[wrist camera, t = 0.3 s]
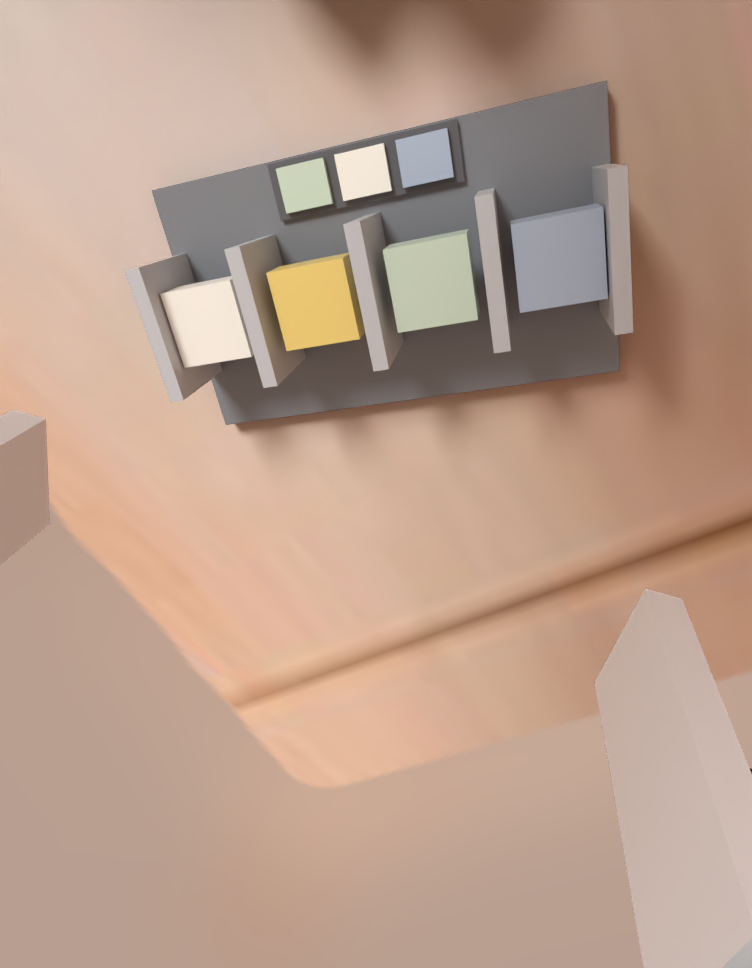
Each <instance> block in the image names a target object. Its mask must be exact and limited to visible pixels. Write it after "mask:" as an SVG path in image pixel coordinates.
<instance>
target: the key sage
mask: <svg viewBox="0 0 752 968" xmlns="http://www.w3.org/2000/svg"><path fill="white" fill-rule="evenodd" d="M383 255H384V261H385V266H386V271H387V277H388V282H389V287H390V293H391V298H392V303H393V309H394V314H395V319H396V325H397V330H398V333H401V332H407V331H413V330H419V329H425V328H431V327H437V326H443V325H450V324H456V323H462V322H468V321H474V320H478V317H479V311H480V310H479V302H478V295H477V287H476V280H475V272H474V265H473V257H472V249H471V242H470V234H469V229H465V230H460V231H455V232H450V233H445V234H440V235H435V236H430V237H425V238H420V239H415V240H410V241H405V242H400V243H395V244H390V245H388V246H387V247H386V248H385V249H383Z"/></svg>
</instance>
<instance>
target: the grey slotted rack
mask: <svg viewBox="0 0 752 968" xmlns="http://www.w3.org/2000/svg"><path fill="white" fill-rule="evenodd" d="M152 193H153V197H154V200H155V203H156V206H157V209H158V212H159V216H160V219H161V222H162V225H163V228H164V231H165V234H166V238H167V241H168V244H169V247H170V250H171V253H172V256H171V257H168V258H165V259H161V260H158V261H155V262H151V263H148V264H145V265H141V266H138V267H135V268H131V269H128V270H125V273H126V276H127V279H128V282H129V285H130V287H131V290H132V293H133V296H134V299H135V302H136V305H137V307H138V310H139V313H140V316H141V319H142V322H143V325H144V327H145V330H146V333H147V336H148V339H149V342H150V345H151V347H152V350H153V353H154V356H155V359H156V362H157V365H158V367H159V370H160V373H161V376H162V379H163V382H164V385H165V387H166V390H167V393H168V396H169V399H170V402H174V401H181V400H184V399H186V398H187V397H188V396H190V395H191V394H192V393H194V392H195V391H196V390H198V389H199V388H200V387H202V386H203V385H204V384H205V383H207V382H208V381H209V380H211V379H212V383H213V386H214V389H215V392H216V395H217V398H218V401H219V405H220V408H221V411H222V414H223V417H224V420H225V424H226V425H229V424H236V423H243V422H251V421H258V420H265V419H272V418H280V417H287V416H294V415H302V414H309V413H316V412H324V411H331V410H338V409H345V408H353V407H360V406H367V405H375V404H382V403H389V402H396V401H404V400H411V399H418V398H426V397H433V396H440V395H448V394H455V393H462V392H469V391H477V390H484V389H491V388H499V387H506V386H513V385H520V384H528V383H535V382H542V381H550V380H557V379H564V378H572V377H579V376H586V375H593V374H601V373H608V372H615V371H620V363H619V340H618V335H621V334H627V333H633V307H632V277H631V248H630V218H629V189H628V165H624V164H611V157H610V134H609V111H608V89H607V81H603V82H599V83H594V84H590V85H586V86H582V87H578V88H574V89H570V90H566V91H561V92H557V93H553V94H549V95H545V96H541V97H537V98H532V99H528V100H524V101H520V102H516V103H512V104H508V105H504V106H499V107H495V108H491V109H487V110H483V111H479V112H475V113H471V114H466V115H462V116H458V117H454V118H450V119H446V120H442V121H437V122H433V123H429V124H425V125H421V126H417V127H413V128H409V129H404V130H400V131H396V132H392V133H388V134H384V135H380V136H375V137H371V138H367V139H363V140H359V141H355V142H351V143H347V144H342V145H338V146H334V147H330V148H326V149H322V150H318V151H313V152H309V153H305V154H301V155H297V156H293V157H289V158H285V159H280V160H276V161H272V162H268V163H264V164H260V165H256V166H252V167H247V168H243V169H239V170H235V171H231V172H227V173H223V174H218V175H214V176H210V177H206V178H202V179H198V180H194V181H190V182H185V183H181V184H177V185H173V186H169V187H165V188H161V189H156V190H152ZM596 203H597V204H599V205H601V206H603V210H604V230H605V251H606V271H607V291H608V299H602V300H596V301H590V302H584V303H578V304H572V305H566V306H560V307H553V308H547V309H541V310H535V311H529V312H523V313H520V309H519V299H518V290H517V280H516V271H515V262H514V252H513V243H512V233H511V224H510V221H511V220H516V219H521V218H526V217H531V216H536V215H541V214H546V213H551V212H556V211H561V210H566V209H571V208H576V207H581V206H586V205H591V204H596ZM465 229H469V234H470V242H471V249H472V257H473V265H474V272H475V280H476V287H477V295H478V302H479V310H480V311H479V317H478V320H474V321H468V322H462V323H456V324H450V325H443V326H437V327H431V328H425V329H419V330H413V331H407V332H401V333H398V330H397V325H396V319H395V314H394V309H393V303H392V298H391V293H390V287H389V282H388V277H387V271H386V266H385V261H384V255H383V249H385V248H386V247H387V246H388V245H390V244H395V243H400V242H405V241H410V240H415V239H420V238H425V237H430V236H435V235H440V234H445V233H450V232H455V231H460V230H465ZM344 253H349V256H350V261H351V266H352V270H353V275H354V280H355V285H356V290H357V294H358V299H359V304H360V309H361V314H362V318H363V323H364V328H365V333H364V334H363V336H362V337H361V338H360V339H358V340H352V341H346V342H340V343H333V344H327V345H321V346H315V347H309V348H303V349H297V350H291V351H286V347H285V343H284V339H283V335H282V332H281V328H280V324H279V320H278V316H277V313H276V309H275V305H274V301H273V297H272V293H271V290H270V286H269V282H268V278H267V274H266V273H267V272H269V271H271V270H273V269H275V268H277V267H279V266H284V265H289V264H294V263H299V262H304V261H309V260H314V259H319V258H324V257H329V256H334V255H339V254H344ZM229 276H232V279H233V283H234V286H235V290H236V293H237V297H238V300H239V304H240V307H241V311H242V314H243V318H244V321H245V325H246V328H247V332H248V335H249V339H250V342H251V346H252V350H253V353H254V355H253V356H252V357H248V358H242V359H236V360H230V361H223V362H217V363H211V364H205V365H199V366H193V367H187V368H184V365H183V362H182V359H181V356H180V353H179V350H178V347H177V344H176V341H175V338H174V335H173V332H172V329H171V326H170V323H169V320H168V317H167V314H166V311H165V308H164V305H163V302H162V299H161V296H160V294H161V293H163V292H166V291H168V290H171V289H173V288H176V287H178V286H183V285H188V284H193V283H198V282H203V281H209V280H214V279H219V278H224V277H229Z"/></svg>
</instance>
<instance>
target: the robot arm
mask: <svg viewBox="0 0 752 968" xmlns="http://www.w3.org/2000/svg"><path fill="white" fill-rule="evenodd" d="M49 514H50V513H49V487H48V461H47V435H46V419H44V418H41V417H37V416H34V415H30V414H27V413H23V412H20V411H16V410H11V411H9V412H7V413H5V414H3V415H1V416H0V565H1V564H2V563H3V562H4V561H6V560H7V559H8V558H9V557H10V556H12V555H13V554H14V553H15V552H16V551H18V550H19V549H20V548H21V547H22V546H24V545H25V544H26V543H27V542H29V541H30V540H31V539H32V538H33V537H34V536H36V535H37V534H38V533H39V532H41V531H42V530H43V529H44V528H46V526H48V525H49V524H50V515H49ZM595 688H596V694H597V700H598V706H599V712H600V717H601V723H602V729H603V735H604V741H605V746H606V752H607V758H608V764H609V770H610V776H611V782H612V787H613V793H614V799H615V805H616V811H617V817H618V822H619V828H620V834H621V840H622V846H623V851H624V857H625V863H626V869H627V874H628V881H629V887H630V892H631V898H632V904H633V909H634V915H635V921H636V927H637V933H638V939H639V945H640V950H641V956H642V962H643V968H752V769H750V768H749V766H748V763H747V761H746V758H745V756H744V753H743V751H742V748H741V746H740V743H739V741H738V738H737V736H736V733H735V731H734V728H733V726H732V723H731V721H730V718H729V716H728V713H727V711H726V708H725V706H724V703H723V700H722V698H721V695H720V693H719V691H718V688H717V685H716V683H715V680H714V678H713V675H712V673H711V670H710V668H709V665H708V663H707V660H706V658H705V655H704V653H703V650H702V648H701V645H700V643H699V640H698V638H697V635H696V633H695V630H694V628H693V625H692V623H691V620H690V618H689V615H688V613H687V610H686V608H685V605H684V602H683V600H682V599H681V598H677V597H674V596H670V595H667V594H663V593H660V592H656V591H653V590H649V589H646V588H645V590H644V592H643V594H642V595H641V597H640V599H639V601H638V603H637V605H636V606H635V608H634V610H633V612H632V614H631V616H630V618H629V619H628V621H627V623H626V625H625V627H624V629H623V631H622V632H621V634H620V636H619V638H618V640H617V642H616V644H615V645H614V647H613V649H612V651H611V653H610V655H609V657H608V658H607V660H606V662H605V664H604V666H603V668H602V670H601V671H600V673H599V675H598V677H597V679H596V681H595Z"/></svg>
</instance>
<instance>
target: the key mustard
mask: <svg viewBox="0 0 752 968" xmlns="http://www.w3.org/2000/svg"><path fill="white" fill-rule="evenodd" d="M266 274H267V278H268V282H269V286H270V290H271V293H272V297H273V301H274V305H275V309H276V313H277V316H278V320H279V324H280V328H281V332H282V335H283V339H284V343H285V347H286V351H291V350H297V349H303V348H309V347H315V346H321V345H327V344H333V343H340V342H346V341H352V340H358V339H360V338H361V337H362V336H363V334H364V333H365V328H364V323H363V318H362V314H361V309H360V304H359V299H358V294H357V290H356V285H355V280H354V275H353V270H352V266H351V261H350V256H349V253H344V254H339V255H334V256H329V257H324V258H319V259H314V260H309V261H304V262H299V263H294V264H289V265H284V266H279V267H277V268H275V269H273V270H271V271H269V272H267V273H266Z"/></svg>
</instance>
